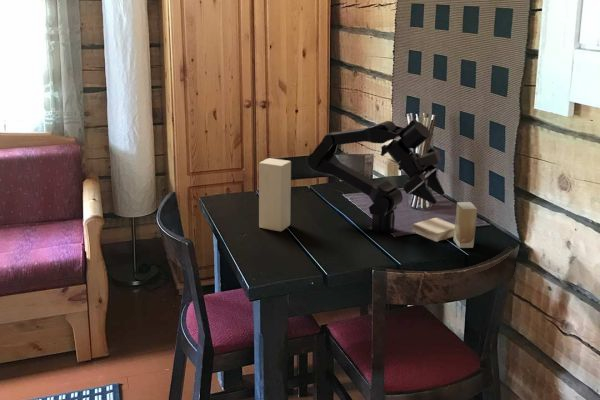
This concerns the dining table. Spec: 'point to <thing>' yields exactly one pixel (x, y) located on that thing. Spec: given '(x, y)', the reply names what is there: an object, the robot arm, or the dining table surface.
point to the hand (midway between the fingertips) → (439, 198)
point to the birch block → (434, 229)
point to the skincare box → (465, 224)
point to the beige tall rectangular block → (274, 194)
